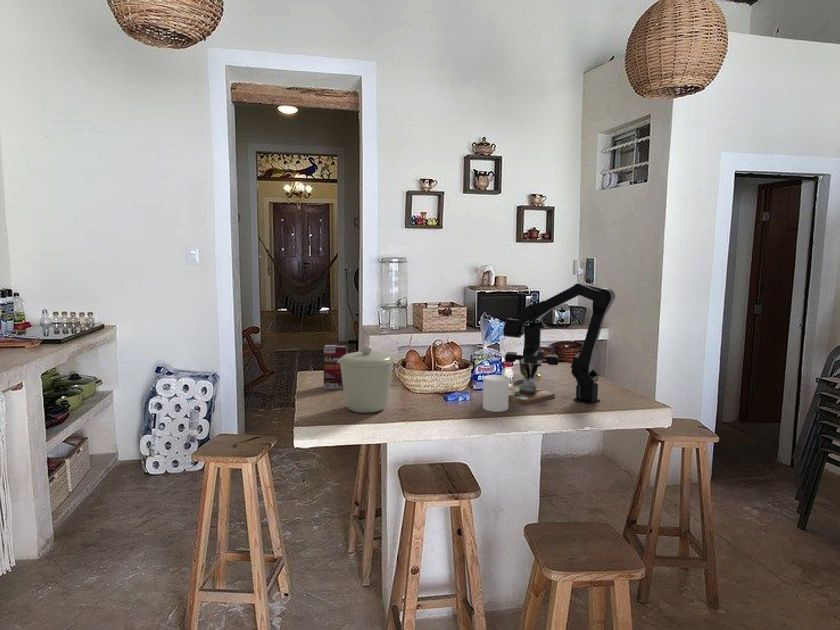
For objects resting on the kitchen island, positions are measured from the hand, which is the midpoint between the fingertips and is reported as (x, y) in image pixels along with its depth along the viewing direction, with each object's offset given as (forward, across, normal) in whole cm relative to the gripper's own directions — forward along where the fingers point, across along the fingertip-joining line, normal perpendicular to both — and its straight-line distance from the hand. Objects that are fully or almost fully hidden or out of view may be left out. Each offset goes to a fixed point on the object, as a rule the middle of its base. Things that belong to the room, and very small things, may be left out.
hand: (530, 381), depth 200 cm
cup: (+4, -2, +19) cm, 19 cm away
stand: (+4, -2, -6) cm, 7 cm away
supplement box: (+5, -71, -12) cm, 72 cm away
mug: (+4, -11, -21) cm, 24 cm away
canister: (+4, -50, -35) cm, 61 cm away
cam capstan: (+2, +1, -4) cm, 5 cm away
